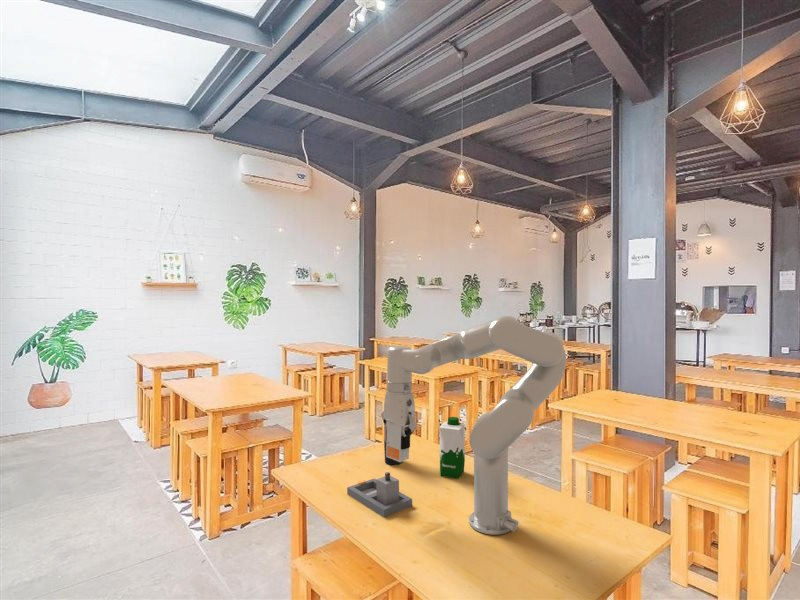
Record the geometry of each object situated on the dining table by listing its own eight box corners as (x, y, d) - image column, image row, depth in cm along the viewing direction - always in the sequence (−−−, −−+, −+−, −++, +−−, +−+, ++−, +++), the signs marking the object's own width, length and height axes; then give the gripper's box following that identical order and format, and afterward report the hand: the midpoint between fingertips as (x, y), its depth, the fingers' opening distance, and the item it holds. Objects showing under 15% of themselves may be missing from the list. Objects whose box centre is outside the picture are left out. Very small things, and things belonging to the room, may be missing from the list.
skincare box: (385, 457, 138) (386, 418, 138) (394, 453, 142) (395, 415, 141) (400, 462, 134) (401, 423, 134) (409, 459, 137) (410, 420, 137)
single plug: (399, 505, 140) (398, 473, 140) (386, 510, 137) (386, 478, 137) (389, 499, 144) (389, 468, 144) (376, 504, 141) (376, 472, 141)
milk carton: (466, 471, 168) (466, 417, 167) (460, 480, 159) (460, 424, 159) (444, 467, 171) (443, 415, 171) (436, 477, 163) (436, 421, 162)
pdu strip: (412, 507, 140) (412, 496, 140) (384, 519, 133) (383, 507, 133) (374, 486, 155) (374, 476, 155) (347, 495, 148) (347, 485, 148)
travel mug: (407, 460, 179) (406, 410, 178) (396, 467, 172) (396, 415, 172) (391, 457, 183) (390, 408, 182) (380, 463, 176) (379, 412, 176)
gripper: (427, 390, 133) (426, 450, 134) (390, 380, 146) (389, 435, 147) (408, 394, 128) (407, 456, 129) (372, 383, 141) (370, 439, 142)
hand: (397, 444), depth 138 cm, fingers closed on skincare box, 6 cm apart
